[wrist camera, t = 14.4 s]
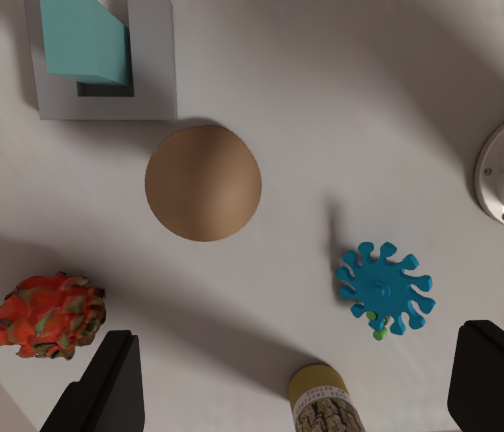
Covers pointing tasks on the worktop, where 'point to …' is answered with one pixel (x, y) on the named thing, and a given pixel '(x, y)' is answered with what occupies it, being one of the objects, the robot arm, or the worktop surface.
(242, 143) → the door knob
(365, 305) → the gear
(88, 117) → the notched board
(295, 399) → the paper tube
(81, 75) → the teal tab
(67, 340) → the dragon fruit
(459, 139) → the worktop surface
